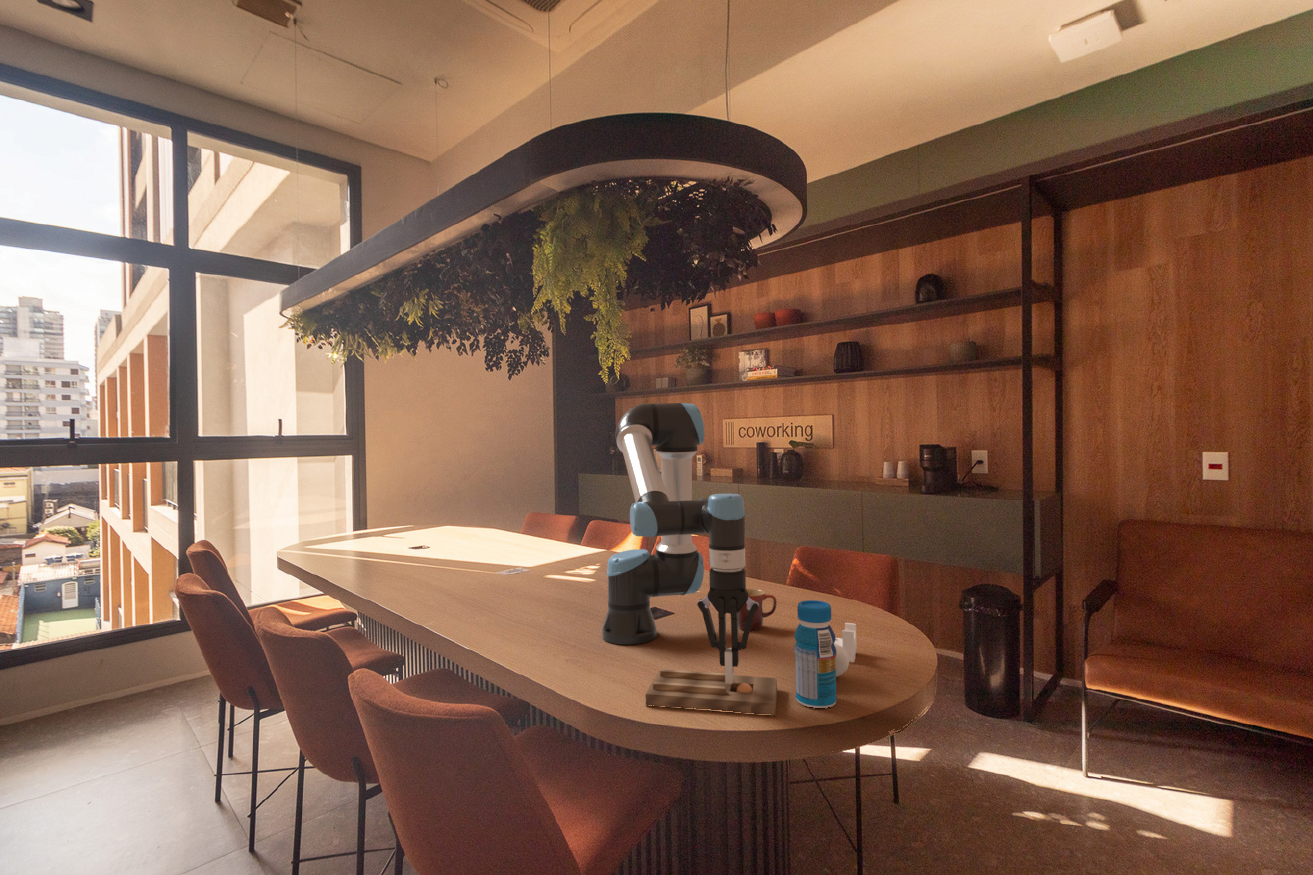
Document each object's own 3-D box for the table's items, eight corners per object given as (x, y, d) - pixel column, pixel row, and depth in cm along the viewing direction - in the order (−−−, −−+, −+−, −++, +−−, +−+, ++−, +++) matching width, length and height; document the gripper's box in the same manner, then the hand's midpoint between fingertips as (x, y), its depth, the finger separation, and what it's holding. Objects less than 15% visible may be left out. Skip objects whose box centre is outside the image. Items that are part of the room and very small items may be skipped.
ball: (732, 695, 124) (742, 684, 124) (733, 688, 128) (743, 677, 127) (745, 707, 124) (755, 695, 123) (746, 699, 127) (756, 688, 127)
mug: (735, 632, 170) (734, 596, 170) (734, 623, 178) (733, 588, 178) (778, 633, 169) (777, 596, 169) (775, 623, 177) (774, 588, 177)
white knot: (847, 671, 140) (846, 632, 140) (852, 692, 128) (851, 650, 129) (797, 668, 143) (796, 630, 143) (797, 688, 131) (796, 647, 131)
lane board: (645, 706, 124) (645, 687, 124) (659, 681, 136) (659, 664, 136) (775, 716, 118) (775, 697, 118) (777, 689, 130) (776, 672, 131)
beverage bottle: (792, 706, 122) (790, 607, 122) (798, 690, 130) (796, 597, 130) (835, 712, 119) (833, 611, 119) (839, 695, 127) (837, 600, 127)
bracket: (856, 653, 152) (856, 623, 152) (854, 663, 146) (853, 632, 146) (804, 647, 157) (803, 618, 157) (799, 656, 151) (798, 626, 151)
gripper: (693, 571, 124) (695, 686, 124) (757, 572, 121) (760, 690, 121) (699, 563, 132) (701, 672, 131) (759, 565, 129) (762, 676, 128)
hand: (729, 681), depth 126 cm, fingers closed
